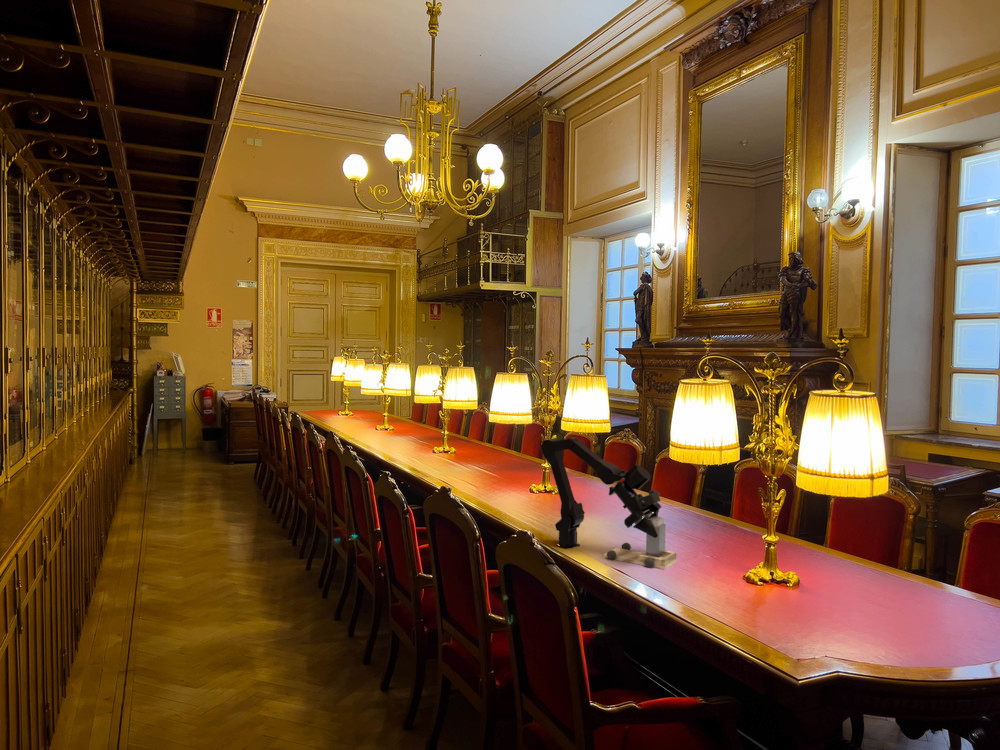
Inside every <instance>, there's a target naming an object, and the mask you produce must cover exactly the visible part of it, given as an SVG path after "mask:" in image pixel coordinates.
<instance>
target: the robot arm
mask: <svg viewBox="0 0 1000 750" xmlns="http://www.w3.org/2000/svg"><path fill="white" fill-rule="evenodd" d="M565 450H569V451H570V452H571V453H573V454H574V455H576V457H578V458H579V459H580V460H582V461H583V462H584V463H585V464H586V465H588V466H589V467H590V468H591V469H592V470H594V472H595V475H596V477H598V478H599V480H600V481H601V482H602V483H603V484H605V485H609V486H610V485H612V486H610V487H608V489H609V490H608V495H609V496H613V495H616V497H618V498H619V500H620V501H621V503H623V506H622V508H624V510H626V509H627V510H628V512H629V513H630V514H629V515H628V516H627V517H625V519H624V520H623V521H624V522H623V524H624V525H625V527H626V528H627V529H630V528H633V529H637V530H639V531H641V532H643V533H645V534H649V535H650V536H652V537H654V538H656V537H657V534H656V532H655V531H654V529H653V527H652V526H651V524H650V523H649V519H650V518H652V517H654V516H656V517H659V512H660V509H661V508H662V505H661V504H660V502H661V499H660V496H661V493H659V491H658V490H656V489H652V490H649V491H648V494H647V495H644V496H643V494H641V493H637V492H636V490H639V489H641V488H642V487H643V486H644V485H645V484H646V483H647V482H649V481H650V479H651V477H652V476H651V474H650V472H649V471H648V469H645V468H644V467H642V465H641V466H640V464H638V463H635V464H633V466H632V467H631V468H630V469H629V470H628V471H626V470H623V469H621V468H620V467H619V466H617V465H615V464H614V463H612V462H610V461H606V460H604V459H602V458H601V457H600V456H598V454H596V453H595V452H594V451H592V450H591V449H590V448H588V447H587V446H586V445H585V444H583V443H582V442H581V441H580V440H579V438H577V437H575V436H573V437H572V436H571V437H568V438H565V439H560V438H557V437H553V438H549V439H545V440H543V441H542V443H541V445H540V451H541V454H542V455H543V457H544V459H545V460H546V462H548V463H549V465H550V467H551V472H552V475H553V478H554V482H555V485H556V489H557V493H558V495H559V496H558V497H559V499H560V503H561V505H560V510H559V512H560V513H559V514H560V518H561V519H559V520H558V521H557V522H556V523H555V524H554V526H555V530H556V531H558V542H557V543H558V544H559V545H560V546H563V547H565V548H564V549H566V548H571V549H573V547H574V548H577V547H580V546H581V544H579V543H578V531H577V530H578V529H579V528H580V526H581V524H582V523H583V522H584V519H585V514H586V512H585V510H584V507H583V503H582V502H577V501H576V500H575V497H574V494H573V490H572V487H571V483H570V481H569V477H568V472H567V469H566V466H565V463H564V457H565ZM621 481H622V482H621ZM615 483H616V484H615ZM613 484H615V485H614V486H613ZM634 524H635V525H634ZM577 528H578V529H577ZM563 547H562V548H563Z"/></svg>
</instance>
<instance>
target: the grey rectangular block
mask: <svg viewBox="0 0 1000 750" xmlns="http://www.w3.org/2000/svg"><path fill="white" fill-rule="evenodd" d="M649 523H650V524H651V526H652V527H653V529H654V531H655V532H656V534H657V537H656V538H654V537H652V536H650V535H649V534H647V533H645V534H646V537H645V553H646V555H649V556H654V557H661V556H662V555H664V554H665V550H666V523H665V517H661V516H658V517H656V516H654V517H652V518H650V519H649Z"/></svg>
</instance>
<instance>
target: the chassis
mask: <svg viewBox="0 0 1000 750" xmlns="http://www.w3.org/2000/svg"><path fill="white" fill-rule="evenodd" d="M631 549H632V546H631V544H630V542H623V543H622V545H621V548H620V547H614V548H612V549H611V550H609V551H606V552H605V553H603V554H602V556H603V558H606V559H608V560H609V561H613V560H615V561H620V562H626V563H631V564H635V565H640V566H645V567H646V568H649V569H650V568H655V569H661V570H667V569H668V568H670V567H671V566H672V565H673V564H675V563H677V552H673V551H668V550H666V549H665V554H664V555H662V556H661V557H654V556H649V555H646V552H643V551H638V550H633V549H632V550H631Z"/></svg>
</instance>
